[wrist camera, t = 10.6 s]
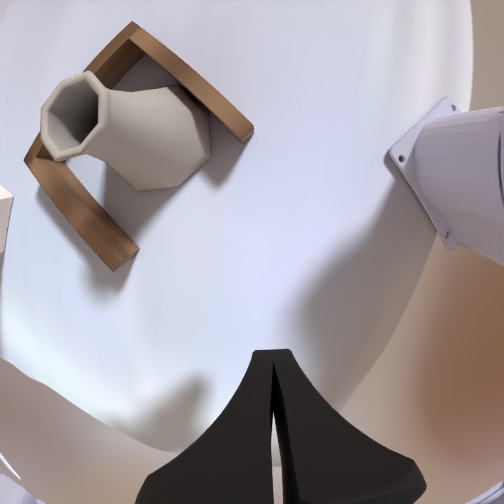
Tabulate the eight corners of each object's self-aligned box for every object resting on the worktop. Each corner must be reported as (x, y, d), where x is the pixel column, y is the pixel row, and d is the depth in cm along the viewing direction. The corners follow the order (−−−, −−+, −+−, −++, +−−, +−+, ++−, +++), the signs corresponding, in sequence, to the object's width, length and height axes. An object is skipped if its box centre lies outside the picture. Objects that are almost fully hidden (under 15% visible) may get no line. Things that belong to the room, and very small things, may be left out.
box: (254, 132, 17) (253, 125, 14) (131, 257, 19) (113, 271, 16) (147, 37, 14) (132, 20, 12) (47, 159, 17) (23, 160, 14)
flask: (230, 164, 17) (199, 157, 8) (133, 208, 18) (38, 248, 9) (190, 70, 15) (133, -7, 6) (100, 119, 16) (-1, 99, 7)
